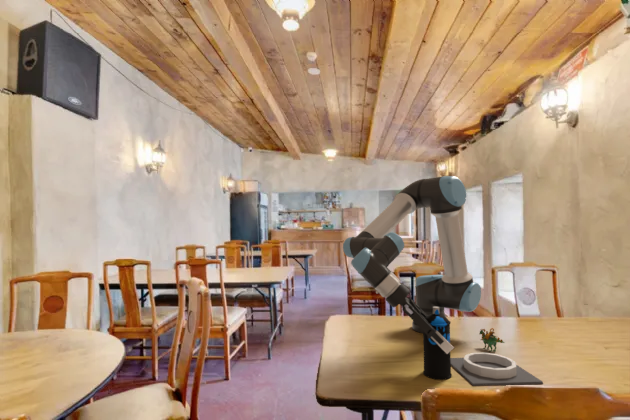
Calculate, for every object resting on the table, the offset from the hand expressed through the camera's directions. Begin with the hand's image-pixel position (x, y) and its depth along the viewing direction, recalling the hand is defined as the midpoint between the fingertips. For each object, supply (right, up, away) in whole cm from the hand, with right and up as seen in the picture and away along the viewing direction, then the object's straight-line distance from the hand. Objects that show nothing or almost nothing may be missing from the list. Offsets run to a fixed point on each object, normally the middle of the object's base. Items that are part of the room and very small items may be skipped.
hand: (448, 345), depth 112 cm
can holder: (+14, -9, +3) cm, 16 cm away
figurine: (+23, -10, +21) cm, 32 cm away
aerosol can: (-3, -9, 0) cm, 9 cm away
